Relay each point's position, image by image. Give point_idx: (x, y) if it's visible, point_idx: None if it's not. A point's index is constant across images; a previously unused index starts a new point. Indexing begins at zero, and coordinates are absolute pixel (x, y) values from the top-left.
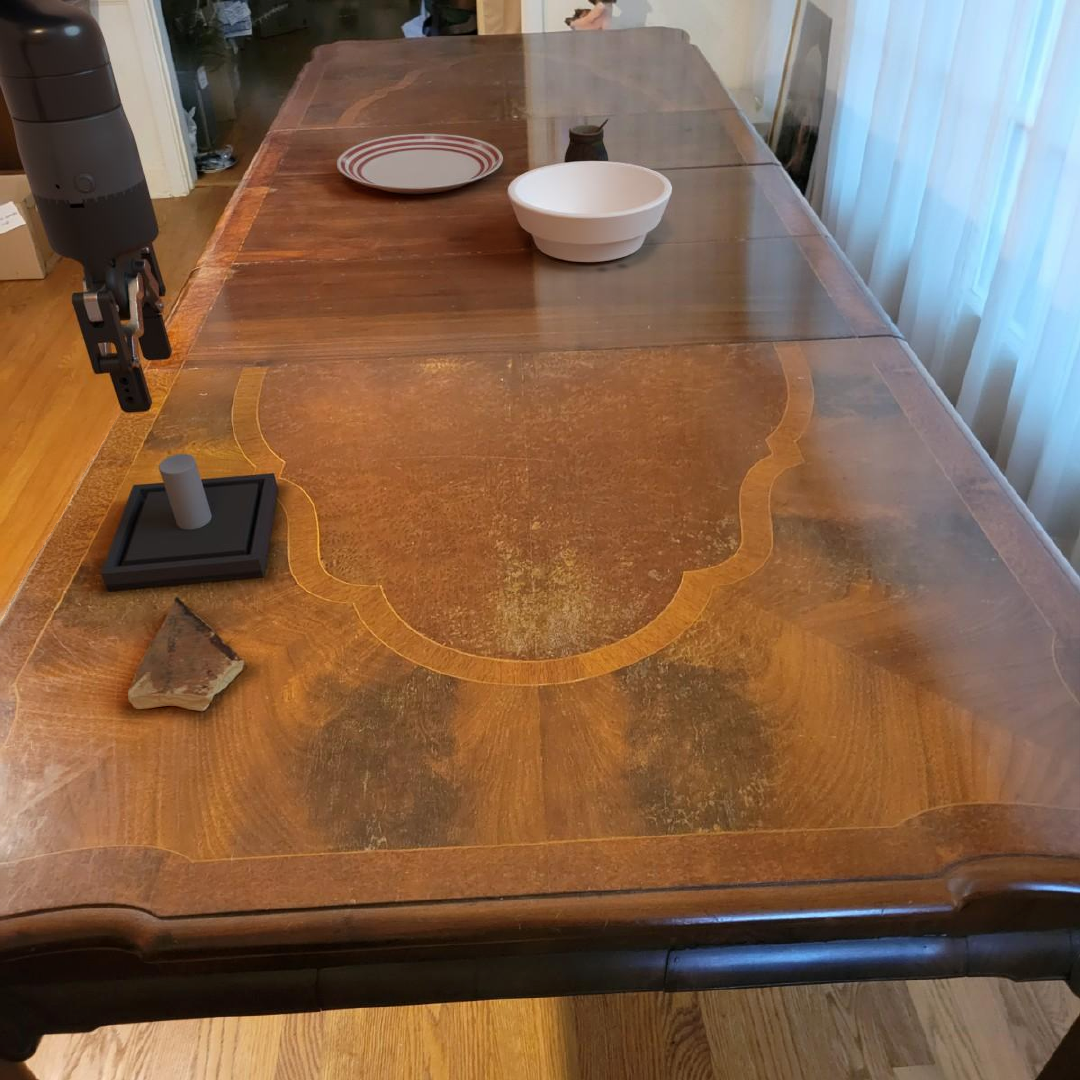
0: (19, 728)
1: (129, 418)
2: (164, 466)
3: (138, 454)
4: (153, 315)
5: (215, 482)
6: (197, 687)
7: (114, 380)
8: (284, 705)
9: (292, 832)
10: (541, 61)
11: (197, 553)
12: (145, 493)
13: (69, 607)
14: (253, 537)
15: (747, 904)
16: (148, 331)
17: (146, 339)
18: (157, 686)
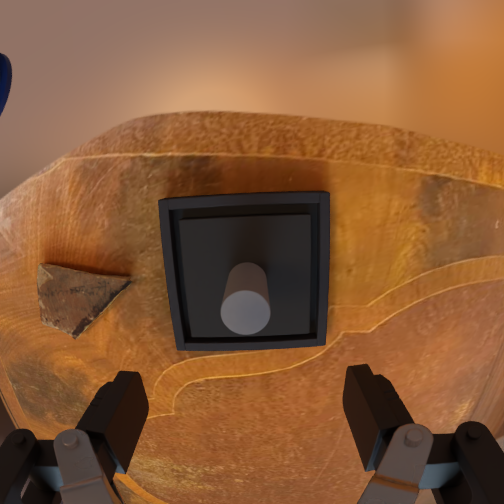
0: (30, 184)
1: (473, 152)
2: (238, 298)
3: (414, 171)
4: (374, 465)
5: (319, 289)
6: (45, 314)
7: (78, 424)
8: (62, 355)
9: (6, 355)
10: None
11: (186, 294)
12: (318, 206)
13: (146, 167)
14: None
15: None
16: (363, 426)
17: (359, 406)
18: (42, 287)
